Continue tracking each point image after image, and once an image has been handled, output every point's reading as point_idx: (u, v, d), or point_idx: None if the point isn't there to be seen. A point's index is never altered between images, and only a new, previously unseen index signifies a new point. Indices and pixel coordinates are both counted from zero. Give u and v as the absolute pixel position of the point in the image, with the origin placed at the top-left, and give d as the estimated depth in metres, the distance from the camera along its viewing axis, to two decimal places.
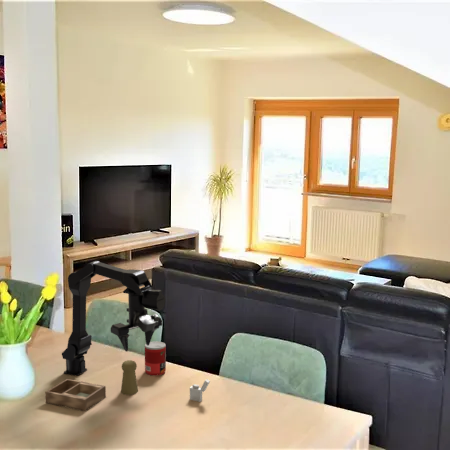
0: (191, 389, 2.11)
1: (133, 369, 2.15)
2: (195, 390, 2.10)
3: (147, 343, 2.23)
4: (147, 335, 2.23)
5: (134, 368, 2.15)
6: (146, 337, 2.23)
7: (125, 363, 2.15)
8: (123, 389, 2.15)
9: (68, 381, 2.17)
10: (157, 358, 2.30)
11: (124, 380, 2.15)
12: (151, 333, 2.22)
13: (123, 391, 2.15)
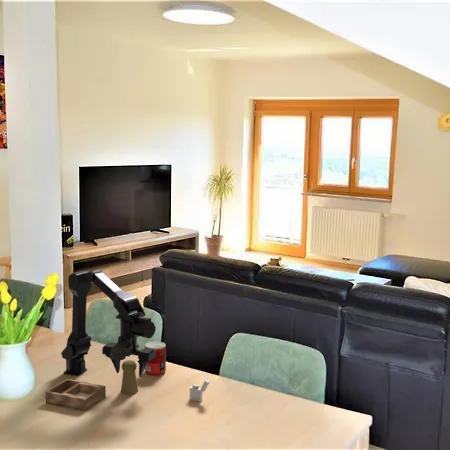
0: (191, 389, 2.11)
1: (133, 369, 2.15)
2: (195, 390, 2.10)
3: None
4: None
5: (134, 368, 2.15)
6: None
7: (125, 363, 2.15)
8: (123, 389, 2.15)
9: (68, 381, 2.17)
10: (157, 358, 2.30)
11: (124, 380, 2.15)
12: (140, 365, 2.13)
13: (123, 391, 2.15)
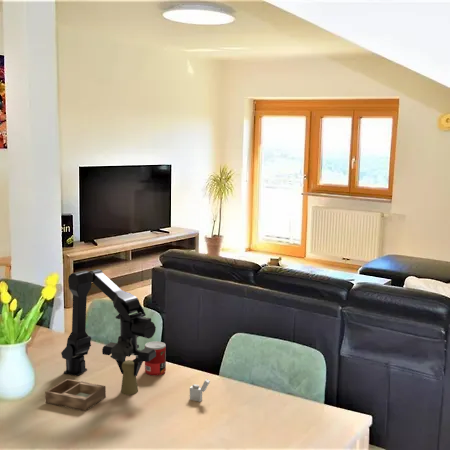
0: (191, 389, 2.11)
1: (133, 369, 2.15)
2: (195, 390, 2.10)
3: None
4: None
5: None
6: None
7: (125, 363, 2.15)
8: (123, 389, 2.15)
9: (68, 381, 2.17)
10: (157, 358, 2.30)
11: (124, 380, 2.15)
12: (135, 365, 2.14)
13: (123, 391, 2.15)
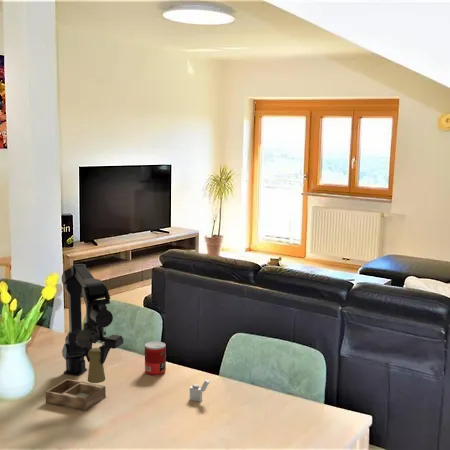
0: (191, 389, 2.11)
1: (100, 356, 2.07)
2: (195, 390, 2.10)
3: None
4: None
5: None
6: None
7: (91, 350, 2.08)
8: (90, 377, 2.08)
9: (68, 381, 2.17)
10: (157, 358, 2.30)
11: (91, 368, 2.08)
12: (102, 352, 2.06)
13: (90, 379, 2.08)
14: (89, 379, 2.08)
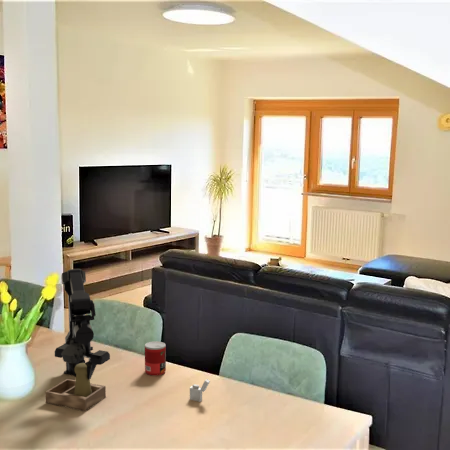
0: (191, 389, 2.11)
1: (86, 372, 2.06)
2: (195, 390, 2.10)
3: None
4: None
5: None
6: None
7: (78, 366, 2.06)
8: (76, 393, 2.06)
9: (68, 381, 2.17)
10: (157, 358, 2.30)
11: (77, 384, 2.06)
12: (88, 368, 2.05)
13: None
14: None
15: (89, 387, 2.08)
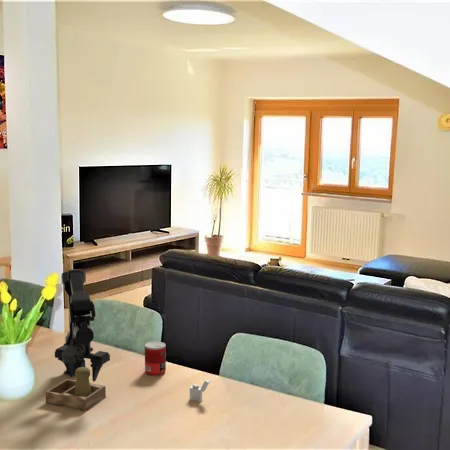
0: (191, 389, 2.11)
1: (86, 376, 2.06)
2: (195, 390, 2.10)
3: None
4: None
5: (87, 375, 2.06)
6: None
7: (78, 370, 2.06)
8: None
9: (68, 381, 2.17)
10: (157, 358, 2.30)
11: (77, 388, 2.06)
12: (93, 369, 2.04)
13: None
14: None
15: (89, 391, 2.08)
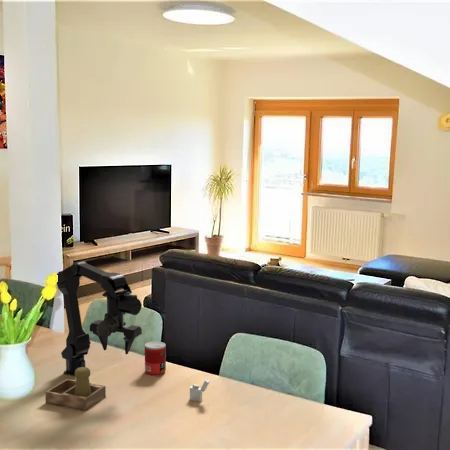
0: (191, 389, 2.11)
1: (86, 376, 2.06)
2: (195, 390, 2.10)
3: None
4: None
5: (87, 375, 2.06)
6: None
7: (78, 370, 2.06)
8: None
9: (68, 381, 2.17)
10: (157, 358, 2.30)
11: (77, 388, 2.06)
12: (126, 342, 2.16)
13: None
14: None
15: (89, 391, 2.08)
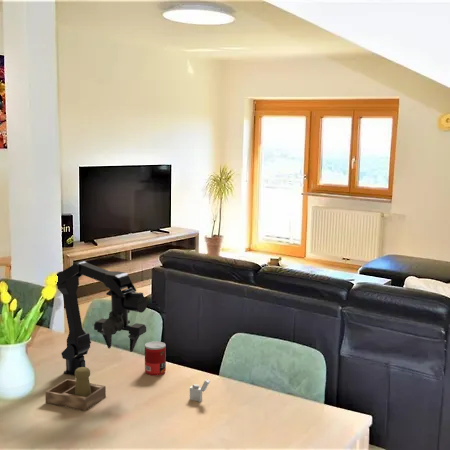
0: (191, 389, 2.11)
1: (86, 376, 2.06)
2: (195, 390, 2.10)
3: None
4: None
5: (87, 375, 2.06)
6: None
7: (78, 370, 2.06)
8: None
9: (68, 381, 2.17)
10: (157, 358, 2.30)
11: (77, 388, 2.06)
12: (131, 340, 2.18)
13: None
14: None
15: (89, 391, 2.08)
